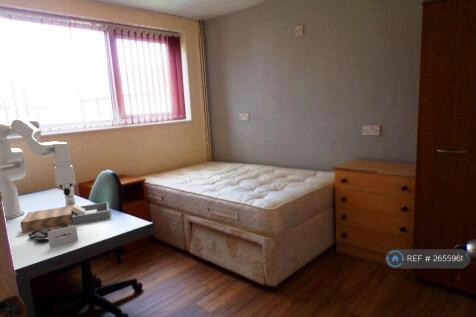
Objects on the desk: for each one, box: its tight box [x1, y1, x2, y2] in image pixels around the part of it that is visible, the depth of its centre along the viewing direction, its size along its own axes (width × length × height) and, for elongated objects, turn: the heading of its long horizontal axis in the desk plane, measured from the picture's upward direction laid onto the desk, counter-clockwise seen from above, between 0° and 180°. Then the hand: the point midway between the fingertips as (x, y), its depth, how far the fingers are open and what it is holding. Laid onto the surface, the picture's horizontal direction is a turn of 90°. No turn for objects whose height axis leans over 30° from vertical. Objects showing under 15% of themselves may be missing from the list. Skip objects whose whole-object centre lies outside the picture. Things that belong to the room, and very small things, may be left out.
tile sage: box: [83, 209, 97, 215], centre depth 193 cm, size 7×7×2 cm
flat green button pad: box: [28, 224, 70, 243], centre depth 166 cm, size 18×18×5 cm
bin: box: [72, 201, 111, 226], centre depth 194 cm, size 19×22×4 cm
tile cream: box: [71, 203, 85, 215], centre depth 191 cm, size 7×7×2 cm
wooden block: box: [20, 206, 74, 234], centre depth 186 cm, size 24×20×6 cm
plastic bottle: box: [62, 184, 77, 207], centre depth 207 cm, size 6×7×20 cm
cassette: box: [47, 224, 79, 249], centre depth 153 cm, size 12×2×8 cm, turn 125°
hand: (67, 195), depth 188 cm, fingers closed
